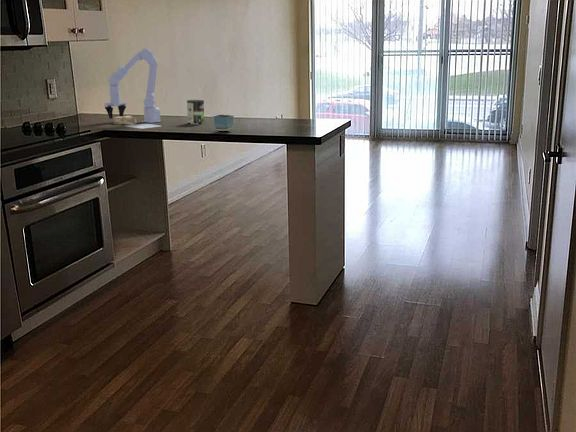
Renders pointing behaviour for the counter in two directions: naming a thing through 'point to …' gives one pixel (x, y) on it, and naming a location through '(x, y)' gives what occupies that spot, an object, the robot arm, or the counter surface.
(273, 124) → the counter surface
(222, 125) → the flower pot
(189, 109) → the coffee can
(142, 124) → the mat
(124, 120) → the t block
